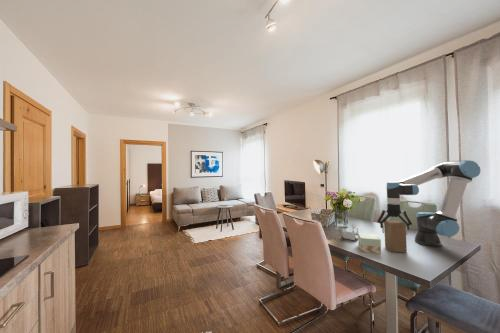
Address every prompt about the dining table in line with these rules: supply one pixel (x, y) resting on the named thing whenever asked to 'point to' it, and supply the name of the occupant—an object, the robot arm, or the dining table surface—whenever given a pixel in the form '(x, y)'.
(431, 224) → the robot arm
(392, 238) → the wooden block
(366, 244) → the tower top
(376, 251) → the tower base
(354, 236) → the white toy machine
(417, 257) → the dining table surface
